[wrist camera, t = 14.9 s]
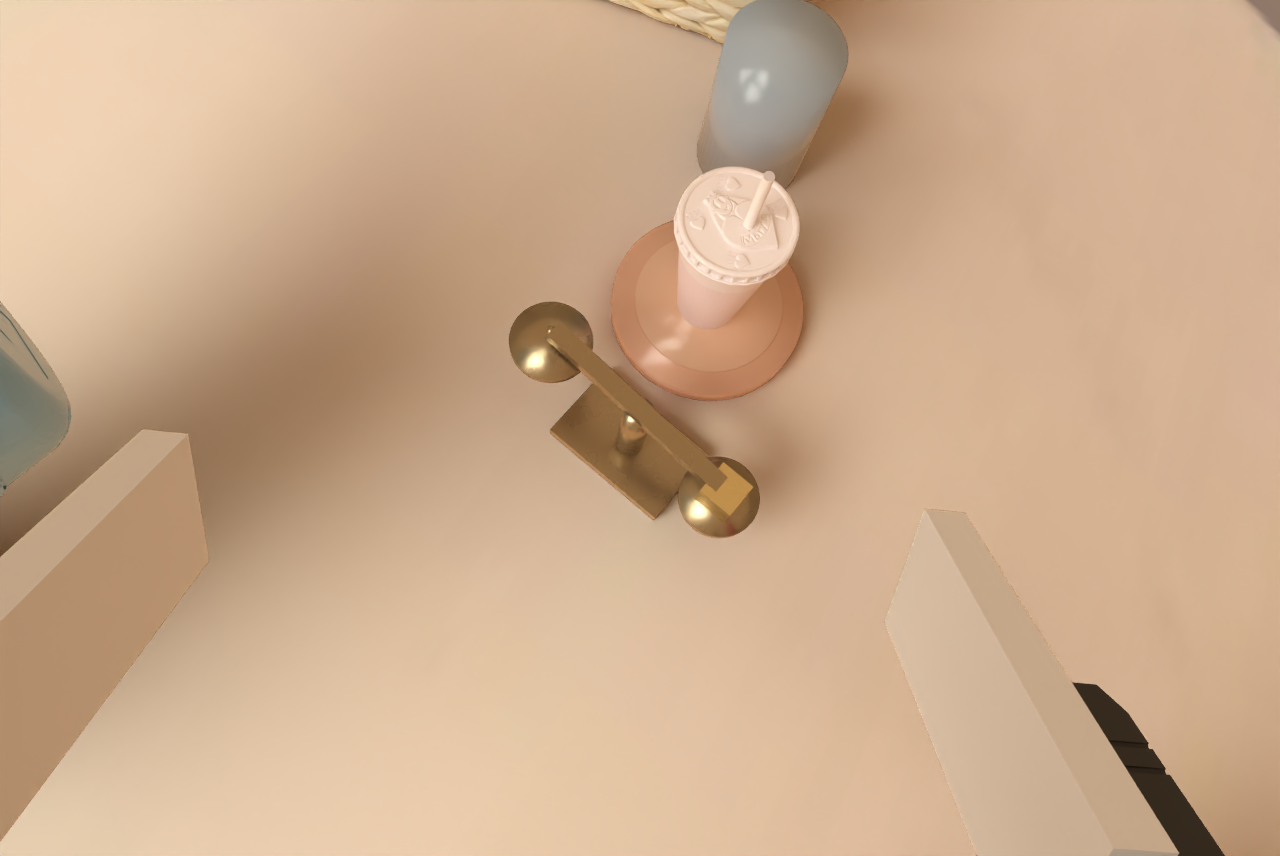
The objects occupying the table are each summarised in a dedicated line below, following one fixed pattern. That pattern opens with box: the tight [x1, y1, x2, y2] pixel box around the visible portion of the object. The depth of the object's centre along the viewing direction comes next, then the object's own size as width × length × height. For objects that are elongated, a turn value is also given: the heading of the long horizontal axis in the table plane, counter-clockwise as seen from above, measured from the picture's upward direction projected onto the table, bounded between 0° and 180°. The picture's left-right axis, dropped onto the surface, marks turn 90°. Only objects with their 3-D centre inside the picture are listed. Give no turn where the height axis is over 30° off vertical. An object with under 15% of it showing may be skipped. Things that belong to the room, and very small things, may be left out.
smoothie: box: [674, 166, 800, 330], centre depth 43 cm, size 6×6×14 cm
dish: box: [611, 221, 803, 401], centre depth 50 cm, size 12×12×1 cm
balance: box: [509, 302, 760, 538], centre depth 44 cm, size 16×5×9 cm, turn 50°
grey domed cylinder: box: [697, 0, 848, 189], centre depth 50 cm, size 7×7×10 cm
